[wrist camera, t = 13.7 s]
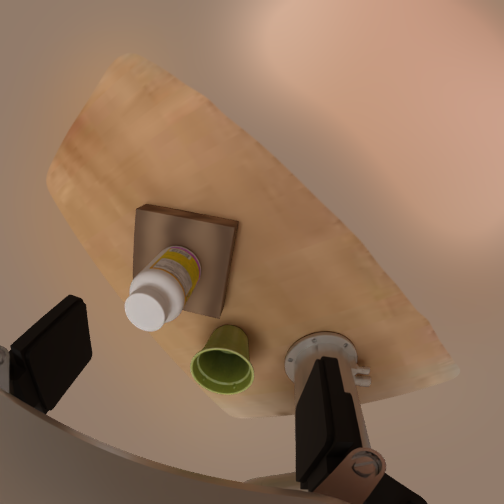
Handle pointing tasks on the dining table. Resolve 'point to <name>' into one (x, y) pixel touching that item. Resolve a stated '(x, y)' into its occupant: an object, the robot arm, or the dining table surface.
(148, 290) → the supplement bottle
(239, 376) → the plant pot
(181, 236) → the brown wooden square slab
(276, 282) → the dining table surface
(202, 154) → the dining table surface
